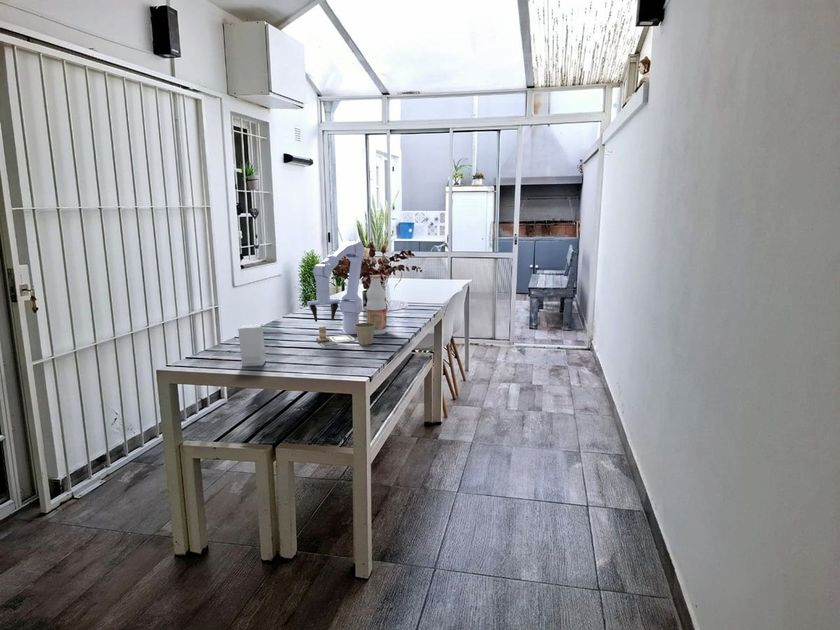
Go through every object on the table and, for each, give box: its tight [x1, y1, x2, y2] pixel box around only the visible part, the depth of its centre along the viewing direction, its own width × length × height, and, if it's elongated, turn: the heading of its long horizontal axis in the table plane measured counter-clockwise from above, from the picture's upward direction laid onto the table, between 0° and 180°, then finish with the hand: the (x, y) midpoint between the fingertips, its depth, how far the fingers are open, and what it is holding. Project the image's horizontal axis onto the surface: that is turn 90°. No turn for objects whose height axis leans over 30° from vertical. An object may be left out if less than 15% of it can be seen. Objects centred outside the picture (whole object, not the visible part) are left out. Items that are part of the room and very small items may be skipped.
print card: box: [328, 334, 357, 344], centre depth 262 cm, size 11×10×1 cm
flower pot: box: [354, 322, 376, 346], centre depth 254 cm, size 9×9×9 cm
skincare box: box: [237, 323, 267, 367], centre depth 222 cm, size 8×7×16 cm
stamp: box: [316, 325, 331, 344], centre depth 258 cm, size 5×5×7 cm
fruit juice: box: [366, 274, 388, 336], centre depth 272 cm, size 9×9×28 cm
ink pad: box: [320, 341, 339, 349], centre depth 251 cm, size 7×7×1 cm
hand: (324, 320), depth 256 cm, fingers open, 7 cm apart
